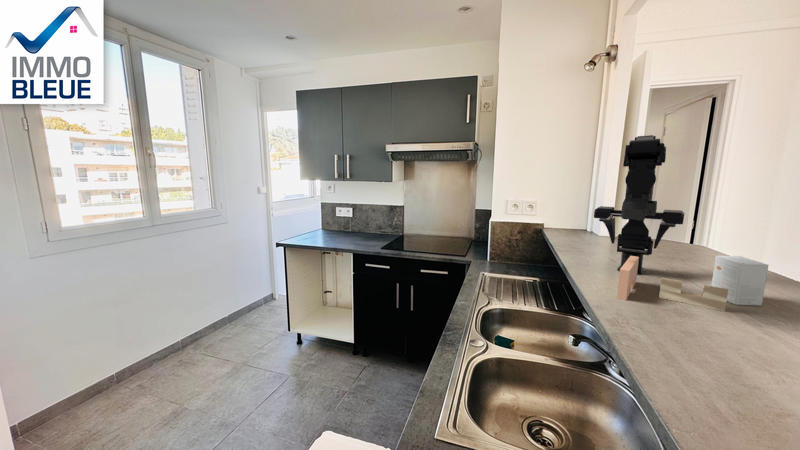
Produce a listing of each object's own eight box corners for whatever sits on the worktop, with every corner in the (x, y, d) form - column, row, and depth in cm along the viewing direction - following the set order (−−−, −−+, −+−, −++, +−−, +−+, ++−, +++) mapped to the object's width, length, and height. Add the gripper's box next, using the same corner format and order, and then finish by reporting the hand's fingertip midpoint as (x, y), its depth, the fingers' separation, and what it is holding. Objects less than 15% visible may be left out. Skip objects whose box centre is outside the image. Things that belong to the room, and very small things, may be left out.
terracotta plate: (627, 281, 92) (630, 255, 91) (636, 282, 91) (639, 256, 90) (616, 298, 81) (619, 269, 80) (626, 300, 80) (629, 270, 78)
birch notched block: (659, 295, 82) (662, 277, 81) (724, 308, 74) (727, 288, 73) (658, 297, 81) (661, 279, 80) (724, 311, 72) (728, 291, 71)
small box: (762, 306, 74) (770, 264, 72) (734, 305, 75) (741, 264, 73) (734, 293, 82) (740, 255, 80) (709, 292, 83) (715, 254, 81)
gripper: (591, 190, 81) (586, 246, 84) (686, 191, 69) (677, 258, 71) (600, 187, 89) (596, 239, 92) (688, 188, 76) (679, 248, 79)
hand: (633, 245), depth 84 cm, fingers open, 9 cm apart
